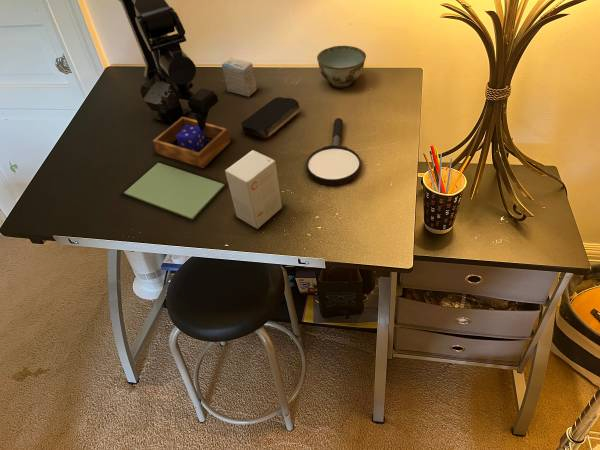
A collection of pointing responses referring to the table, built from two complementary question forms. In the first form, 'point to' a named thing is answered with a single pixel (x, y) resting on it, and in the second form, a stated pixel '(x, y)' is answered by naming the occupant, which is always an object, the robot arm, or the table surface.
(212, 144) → the pine box
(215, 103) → the robot arm
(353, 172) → the magnifying glass
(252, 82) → the medicine box
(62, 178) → the table surface
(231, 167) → the small box
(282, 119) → the black sponge
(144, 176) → the mat
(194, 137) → the die
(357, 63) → the bowl
